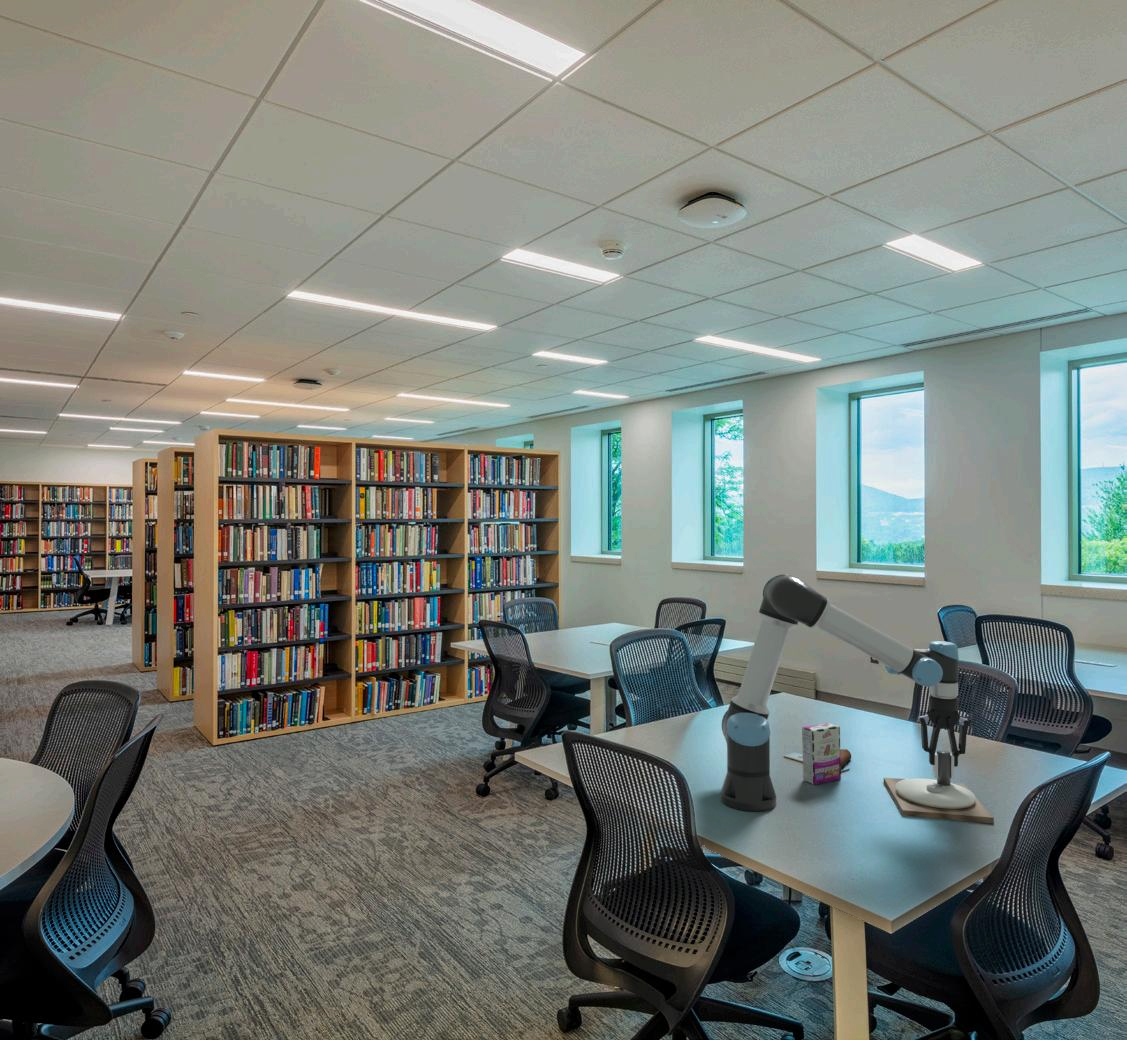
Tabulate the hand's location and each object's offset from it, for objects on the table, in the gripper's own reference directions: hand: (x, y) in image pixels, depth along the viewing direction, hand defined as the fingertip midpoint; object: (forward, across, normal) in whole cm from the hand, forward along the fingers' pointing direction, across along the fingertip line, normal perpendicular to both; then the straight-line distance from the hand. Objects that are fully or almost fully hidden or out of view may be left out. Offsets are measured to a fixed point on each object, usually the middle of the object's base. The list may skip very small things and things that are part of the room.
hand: (943, 776), depth 212 cm
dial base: (+5, +4, +7) cm, 10 cm away
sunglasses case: (+6, +28, -20) cm, 35 cm away
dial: (+3, +4, +7) cm, 9 cm away
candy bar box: (+5, +33, -4) cm, 34 cm away
